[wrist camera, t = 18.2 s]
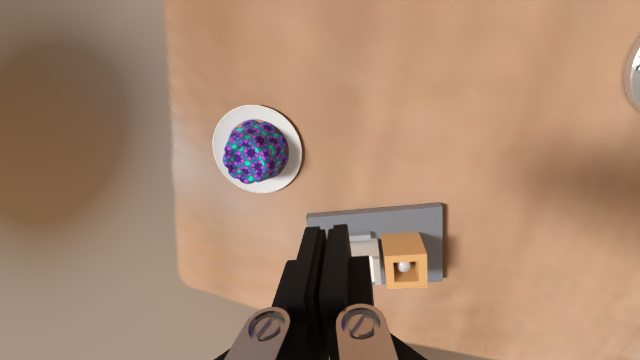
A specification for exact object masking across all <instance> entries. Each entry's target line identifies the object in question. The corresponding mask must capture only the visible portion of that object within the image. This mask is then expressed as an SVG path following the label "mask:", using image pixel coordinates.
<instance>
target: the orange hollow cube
mask: <svg viewBox="0 0 640 360" xmlns="http://www.w3.org/2000/svg"><path fill="white" fill-rule="evenodd" d="M381 242H382V254H383V265H384V272H385V279H386V286H387V289H398V288H422V287H428V279H427V253H426V250H425V247H424V245H423V242H422V239H421V237H420V234H419V232H405V233H391V234H381ZM397 262H410V266H411V268H410V270H409V271H408V272H401V271H399V270H398V267H397Z"/></svg>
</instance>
